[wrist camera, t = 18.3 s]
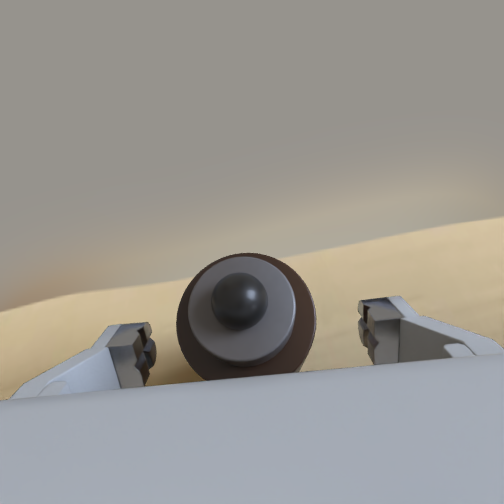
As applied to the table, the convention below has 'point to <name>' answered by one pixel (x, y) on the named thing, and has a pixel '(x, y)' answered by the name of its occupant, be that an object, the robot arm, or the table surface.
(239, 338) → the pepper mill
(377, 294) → the table surface
